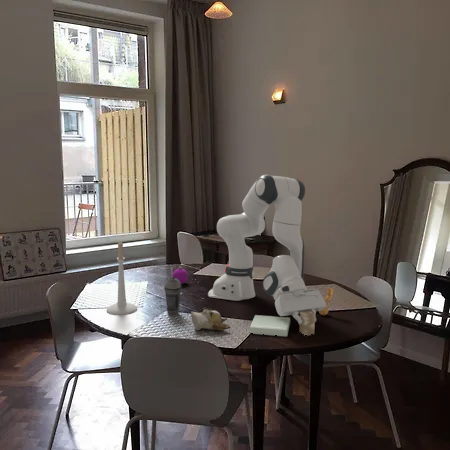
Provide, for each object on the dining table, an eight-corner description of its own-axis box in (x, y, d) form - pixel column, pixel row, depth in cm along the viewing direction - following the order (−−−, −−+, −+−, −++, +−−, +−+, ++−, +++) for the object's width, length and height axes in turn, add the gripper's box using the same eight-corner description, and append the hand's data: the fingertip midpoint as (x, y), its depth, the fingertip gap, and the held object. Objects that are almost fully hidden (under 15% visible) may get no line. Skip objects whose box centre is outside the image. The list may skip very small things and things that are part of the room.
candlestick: (118, 317, 200) (116, 245, 195) (100, 310, 208) (98, 241, 204) (143, 309, 209) (141, 241, 205) (125, 303, 217) (123, 237, 213)
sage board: (249, 333, 182) (249, 326, 182) (255, 321, 196) (255, 314, 196) (287, 336, 180) (287, 329, 179) (289, 323, 193) (290, 317, 193)
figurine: (316, 311, 208) (317, 284, 206) (330, 311, 208) (331, 284, 206) (320, 318, 200) (321, 290, 198) (335, 318, 200) (336, 290, 198)
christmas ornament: (183, 286, 245) (183, 267, 244) (169, 285, 248) (169, 266, 247) (190, 282, 253) (190, 264, 252) (176, 281, 256) (176, 262, 254)
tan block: (305, 335, 180) (305, 315, 179) (299, 332, 184) (300, 311, 183) (314, 334, 182) (314, 313, 181) (308, 330, 186) (309, 310, 184)
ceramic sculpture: (190, 303, 190) (228, 304, 192) (189, 324, 191) (226, 325, 193) (192, 312, 180) (232, 313, 182) (190, 334, 181) (230, 335, 183)
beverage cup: (168, 317, 199) (167, 270, 196) (161, 312, 205) (161, 266, 202) (184, 315, 202) (184, 268, 199) (177, 310, 209) (177, 264, 206)
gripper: (314, 291, 196) (327, 322, 188) (269, 297, 188) (281, 329, 180) (320, 283, 191) (334, 315, 183) (275, 289, 183) (288, 322, 175)
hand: (308, 322), depth 182 cm, fingers closed on tan block, 4 cm apart
